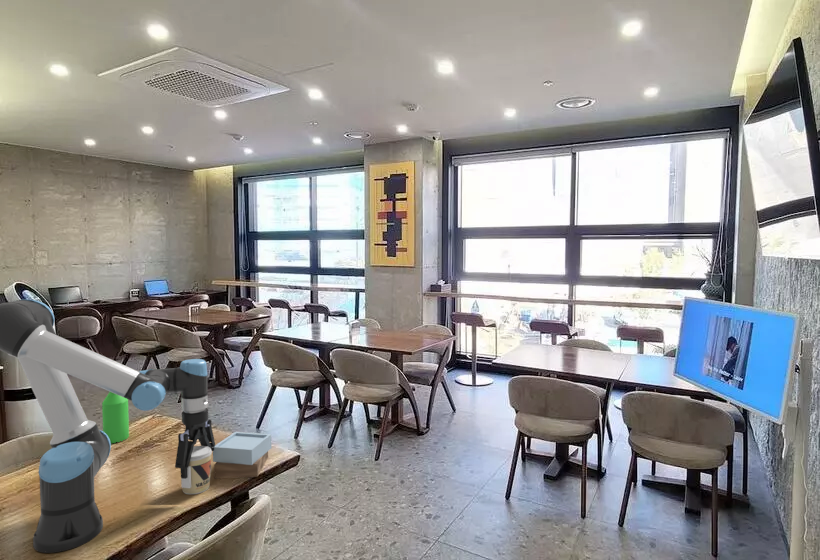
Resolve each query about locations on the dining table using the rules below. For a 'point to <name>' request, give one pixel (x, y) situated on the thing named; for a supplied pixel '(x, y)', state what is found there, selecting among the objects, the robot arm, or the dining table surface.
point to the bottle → (115, 417)
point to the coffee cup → (199, 470)
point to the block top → (242, 448)
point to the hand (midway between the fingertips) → (196, 479)
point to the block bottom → (239, 469)
